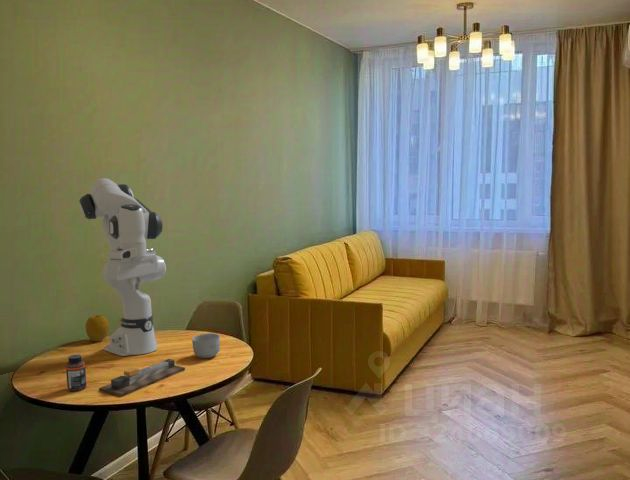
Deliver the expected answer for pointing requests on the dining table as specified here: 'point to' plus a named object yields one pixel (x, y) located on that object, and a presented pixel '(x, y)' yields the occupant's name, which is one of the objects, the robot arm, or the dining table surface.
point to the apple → (97, 327)
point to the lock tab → (131, 371)
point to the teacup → (206, 345)
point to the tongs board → (139, 381)
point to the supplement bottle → (76, 373)
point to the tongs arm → (151, 369)
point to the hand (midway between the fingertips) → (135, 290)
